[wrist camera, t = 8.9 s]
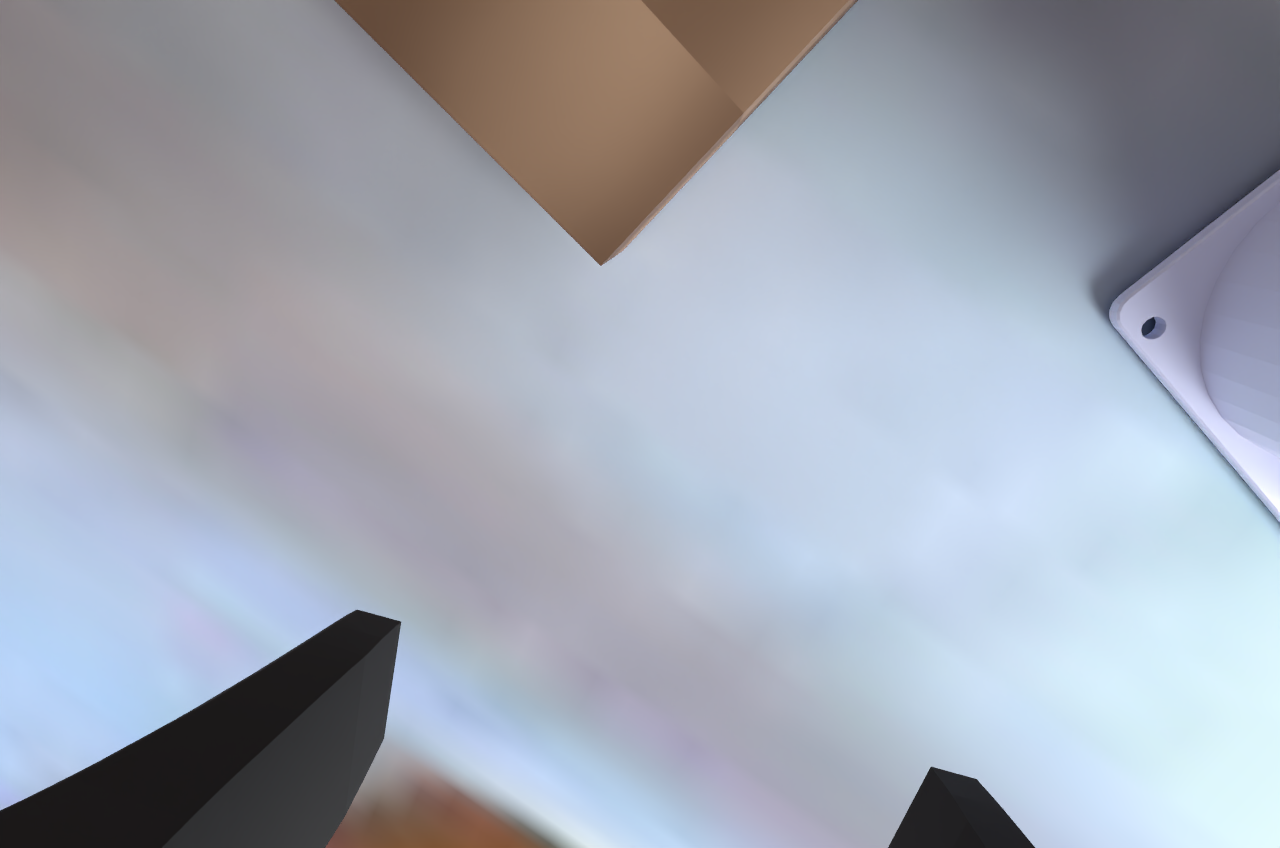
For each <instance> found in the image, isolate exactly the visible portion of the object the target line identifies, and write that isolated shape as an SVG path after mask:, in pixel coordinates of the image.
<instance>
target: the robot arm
mask: <svg viewBox="0 0 1280 848" xmlns="http://www.w3.org/2000/svg"><path fill="white" fill-rule="evenodd" d="M1152 317H1154V319H1155V321H1156V323H1155V328H1154V329H1153V330H1152V331H1151V333H1149V334H1147V335H1145V336H1143V335H1142V332H1141V329H1142V325H1143V324H1144V323H1145V322H1146V320H1148V319H1150V318H1152ZM1109 319H1110V321H1111V323H1112V325H1113V326H1114V327H1115V328H1116V330H1117V331H1118V332H1119V333H1120V334H1121V336H1122V337H1123V338H1124V339H1125V340H1126V341H1127V343H1128V344H1129V345H1130V346H1131V347H1132V349H1133V350H1134V351H1135V352H1136V353H1137V354H1138V356H1139V357H1140V358H1141V359H1142V360H1143V362H1144V363H1145V364H1146V365H1147V366H1148V367H1149V369H1150V370H1151V371H1152V372H1153V373H1154V374H1155V376H1156V377H1157V378H1158V379H1159V380H1160V382H1161V383H1162V384H1163V385H1164V386H1165V387H1166V389H1167V390H1168V391H1169V392H1170V393H1171V395H1172V396H1173V397H1174V398H1175V399H1176V400H1177V402H1178V403H1179V404H1180V405H1181V406H1182V408H1183V409H1184V410H1185V411H1186V412H1187V413H1188V415H1189V416H1190V417H1191V418H1192V419H1193V420H1194V422H1195V423H1196V424H1197V425H1198V426H1199V428H1200V429H1201V430H1202V431H1203V432H1204V433H1205V435H1206V436H1207V437H1208V438H1209V439H1210V441H1211V442H1212V443H1213V444H1214V445H1215V446H1216V448H1217V449H1218V450H1219V451H1220V452H1221V454H1222V455H1223V456H1224V457H1225V458H1226V459H1227V461H1228V462H1229V463H1230V464H1231V465H1232V466H1233V468H1234V469H1235V470H1236V471H1237V472H1238V474H1239V475H1240V476H1241V477H1242V478H1243V479H1244V481H1245V482H1246V483H1247V484H1248V485H1249V487H1250V488H1251V489H1252V490H1253V491H1254V492H1255V494H1256V495H1257V496H1258V497H1259V498H1260V499H1261V501H1262V502H1263V503H1264V504H1265V505H1266V507H1267V508H1268V509H1269V510H1270V511H1271V512H1272V514H1273V515H1274V516H1275V517H1276V518H1277V520H1278V521H1279V522H1280V170H1278V171H1277V172H1276V173H1275V174H1273V175H1272V176H1271V177H1269V178H1268V179H1267V180H1266V181H1264V182H1263V183H1262V184H1261V185H1259V186H1258V187H1257V188H1255V189H1254V190H1253V191H1252V192H1250V193H1249V194H1248V195H1247V196H1245V197H1244V198H1243V199H1241V200H1240V201H1239V202H1238V203H1236V204H1235V205H1234V206H1232V207H1231V208H1230V209H1229V210H1227V211H1226V212H1225V213H1224V214H1222V215H1221V216H1220V217H1218V218H1217V219H1216V220H1215V221H1213V222H1212V223H1211V224H1210V225H1208V226H1207V227H1206V228H1204V229H1203V230H1202V231H1201V232H1199V233H1198V234H1197V235H1195V236H1194V237H1193V238H1192V239H1190V240H1189V241H1188V242H1187V243H1185V244H1184V245H1183V246H1181V247H1180V248H1179V249H1178V250H1176V251H1175V252H1174V253H1172V254H1171V255H1170V256H1169V257H1167V258H1166V259H1165V260H1164V261H1162V262H1161V263H1160V264H1158V265H1157V266H1156V267H1155V268H1153V269H1152V270H1151V271H1150V272H1148V273H1147V274H1146V275H1144V276H1143V277H1142V278H1141V279H1139V280H1138V281H1137V282H1135V283H1134V284H1133V285H1132V286H1130V287H1129V288H1128V289H1127V290H1125V291H1124V292H1123V293H1121V294H1120V295H1119V296H1118V297H1117V298H1116V299H1115V300H1114V301H1113V303H1112V305H1111V308H1110V310H1109ZM400 626H401V622H400V621H397V620H393V619H389V618H386V617H382V616H378V615H375V614H371V613H368V612H364V611H360V610H355V611H353V612H352V613H350V614H348V615H346V616H345V617H343V618H341V619H340V620H338V621H336V622H335V623H333V624H332V625H330V626H329V627H327V628H325V629H324V630H322V631H321V632H319V633H317V634H316V635H314V636H313V637H311V638H310V639H308V640H306V641H305V642H303V643H302V644H300V645H299V646H297V647H295V648H294V649H292V650H291V651H289V652H287V653H286V654H284V655H283V656H281V657H279V658H278V659H276V660H275V661H273V662H271V663H270V664H268V665H267V666H265V667H263V668H262V669H260V670H259V671H257V672H255V673H254V674H252V675H250V676H249V677H247V678H245V679H244V680H242V681H240V682H239V683H237V684H235V685H233V686H232V687H230V688H228V689H227V690H225V691H223V692H222V693H220V694H218V695H217V696H215V697H213V698H212V699H210V700H208V701H207V702H205V703H203V704H202V705H200V706H198V707H197V708H195V709H193V710H191V711H190V712H188V713H186V714H184V715H183V716H181V717H179V718H177V719H176V720H174V721H172V722H170V723H168V724H167V725H165V726H163V727H161V728H159V729H157V730H156V731H154V732H152V733H150V734H148V735H146V736H145V737H143V738H141V739H139V740H137V741H135V742H134V743H132V744H130V745H128V746H126V747H124V748H123V749H121V750H119V751H117V752H115V753H113V754H112V755H110V756H108V757H106V758H104V759H102V760H101V761H99V762H97V763H95V764H93V765H91V766H89V767H87V768H85V769H83V770H81V771H80V772H78V773H76V774H74V775H72V776H70V777H68V778H66V779H64V780H62V781H60V782H58V783H56V784H54V785H52V786H50V787H48V788H46V789H44V790H42V791H40V792H38V793H36V794H34V795H32V796H30V797H28V798H26V799H24V800H22V801H20V802H17V803H15V804H13V805H11V806H9V807H7V808H5V809H3V810H1V811H0V848H325V847H326V845H327V844H328V842H329V841H330V839H331V838H332V836H333V834H334V833H335V831H336V830H337V828H338V826H339V825H340V823H341V822H342V820H343V818H344V817H345V815H346V813H347V811H348V809H349V807H350V805H351V803H352V801H353V799H354V797H355V795H356V793H357V792H358V790H359V788H360V786H361V784H362V782H363V780H364V778H365V776H366V774H367V772H368V770H369V768H370V766H371V764H372V762H373V760H374V757H375V755H376V753H377V751H378V749H379V747H380V745H381V743H382V741H383V739H384V734H385V727H386V720H387V714H388V707H389V700H390V693H391V687H392V680H393V673H394V666H395V660H396V653H397V646H398V639H399V633H400ZM888 848H1035V847H1034V846H1033V845H1032V843H1031V842H1030V841H1029V840H1028V839H1027V837H1026V836H1025V835H1024V834H1023V833H1022V831H1021V830H1020V829H1019V828H1018V827H1017V825H1016V824H1015V823H1014V822H1013V820H1012V819H1011V818H1010V817H1009V816H1008V815H1007V813H1006V812H1005V811H1004V810H1003V809H1002V807H1001V806H1000V805H999V804H998V803H997V802H996V800H995V799H994V798H993V797H992V796H991V795H990V794H989V793H988V791H987V790H986V789H985V788H984V787H983V786H982V785H981V784H980V783H979V781H978V780H977V779H974V778H970V777H967V776H963V775H959V774H956V773H952V772H948V771H945V770H941V769H938V768H934V767H931V768H930V769H929V771H928V773H927V775H926V777H925V779H924V781H923V783H922V785H921V786H920V788H919V790H918V792H917V794H916V796H915V798H914V800H913V802H912V804H911V805H910V807H909V809H908V811H907V813H906V815H905V817H904V819H903V821H902V822H901V824H900V826H899V828H898V830H897V832H896V834H895V836H894V838H893V839H892V841H891V843H890V845H889V847H888Z"/></svg>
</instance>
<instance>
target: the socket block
mask: <svg viewBox="0 0 1280 848" xmlns="http://www.w3.org/2000/svg"><path fill="white" fill-rule="evenodd" d="M335 1H336V2H337V3H338V4H339V5H340V6H341V7H342V8H343V9H344V10H345V11H346V12H347V13H348V14H349V15H350V16H351V17H352V18H353V19H354V20H355V21H356V22H357V23H358V24H359V25H360V26H361V27H362V28H363V29H364V30H365V31H366V32H367V33H368V34H369V35H370V36H371V37H372V38H373V39H374V40H375V41H376V42H377V43H378V44H379V45H380V46H381V47H382V48H383V49H384V50H385V51H386V52H387V53H388V54H389V55H390V56H391V57H392V58H393V59H394V60H395V61H396V62H397V63H398V64H399V65H400V66H401V67H402V68H403V69H404V70H405V71H406V72H407V73H408V74H409V75H410V76H411V77H412V78H413V79H414V80H415V81H416V82H417V83H418V84H419V85H420V86H421V87H422V88H423V89H424V90H425V91H426V92H427V93H428V94H429V95H430V96H431V97H432V98H433V99H434V100H435V101H436V102H437V103H438V104H439V105H440V106H441V107H442V108H443V109H444V110H445V111H446V112H447V113H448V114H449V115H450V116H451V117H452V118H453V119H454V120H455V121H456V122H457V123H458V124H459V125H460V126H461V127H462V128H463V129H464V130H465V131H466V132H467V133H468V134H469V135H470V136H471V137H472V138H473V139H474V140H475V141H476V142H477V143H478V144H479V145H480V146H481V147H482V148H483V149H484V150H485V151H486V152H487V153H488V154H489V155H490V156H491V157H492V158H493V159H494V160H495V161H496V162H497V163H498V164H499V165H500V166H501V167H502V168H503V169H504V170H505V171H506V172H507V173H508V174H509V175H510V176H511V177H512V178H513V179H514V180H515V181H516V182H517V183H518V184H519V185H520V186H521V187H522V188H523V189H524V190H525V191H526V192H527V193H528V194H529V195H530V196H531V197H532V198H533V199H534V200H535V201H536V202H537V203H538V204H539V205H540V206H541V207H542V208H543V209H544V210H545V211H546V212H547V213H548V214H549V215H550V216H551V217H552V218H553V219H554V220H555V221H556V222H557V223H558V224H559V225H560V226H561V227H562V228H563V229H564V230H565V231H566V232H567V233H568V234H569V235H570V236H571V237H572V238H573V239H574V240H575V241H576V242H577V243H578V244H579V245H580V246H581V247H582V248H583V249H584V250H585V251H586V252H587V253H588V254H589V255H590V256H591V257H592V258H593V259H594V260H595V261H596V262H597V263H598V264H599V265H600V266H601V265H603V264H604V263H606V262H607V261H609V260H610V259H612V258H613V257H614V256H616V255H617V254H619V253H620V252H622V251H623V250H624V249H625V248H626V247H627V246H628V245H629V244H630V242H631V241H632V240H633V239H634V238H635V237H636V236H637V235H638V234H639V233H640V232H641V231H642V230H643V229H644V228H645V226H646V225H647V224H648V223H649V222H650V221H651V220H652V219H653V218H654V217H655V216H656V215H657V214H658V213H659V212H660V211H661V209H662V208H663V207H664V206H665V205H666V204H667V203H668V202H669V201H670V200H671V199H672V198H673V197H674V196H675V195H676V193H677V192H678V191H679V190H680V189H681V188H682V187H683V186H684V185H685V184H686V183H687V182H688V181H689V180H690V179H691V177H692V176H693V175H694V174H695V173H696V172H697V171H698V170H699V169H700V168H701V167H702V166H703V165H704V164H705V163H706V162H707V160H708V159H709V158H710V157H711V156H712V155H713V154H714V153H715V152H716V151H717V150H718V149H719V148H720V147H721V146H722V144H723V143H724V142H725V141H726V140H727V139H728V138H729V137H730V136H731V135H732V134H733V133H734V132H735V131H736V130H737V128H738V127H739V126H740V125H741V124H742V123H743V122H744V121H745V120H746V119H747V118H748V117H749V116H750V115H751V114H752V112H753V111H754V110H755V109H756V108H757V107H758V106H759V105H760V104H761V103H762V102H763V101H764V100H765V99H766V98H767V97H768V95H769V94H770V93H771V92H772V91H773V90H774V89H775V88H776V87H777V86H778V85H779V84H780V83H781V82H782V81H783V79H784V78H785V77H786V76H787V75H788V74H789V73H790V72H791V71H792V70H793V69H794V68H795V67H796V66H797V65H798V63H799V62H800V61H801V60H802V59H803V58H804V57H805V56H806V55H807V54H808V53H809V52H810V51H811V50H812V49H813V48H814V46H815V45H816V44H817V43H818V42H819V41H820V40H821V39H822V38H823V37H824V36H825V35H826V34H827V33H828V32H829V30H830V29H831V28H832V27H833V26H834V25H835V24H836V23H837V22H838V21H839V20H840V19H841V18H842V17H843V16H844V14H845V13H846V12H847V11H848V10H849V9H850V8H851V7H852V6H853V5H854V4H855V3H856V2H857V1H858V0H335Z"/></svg>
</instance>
